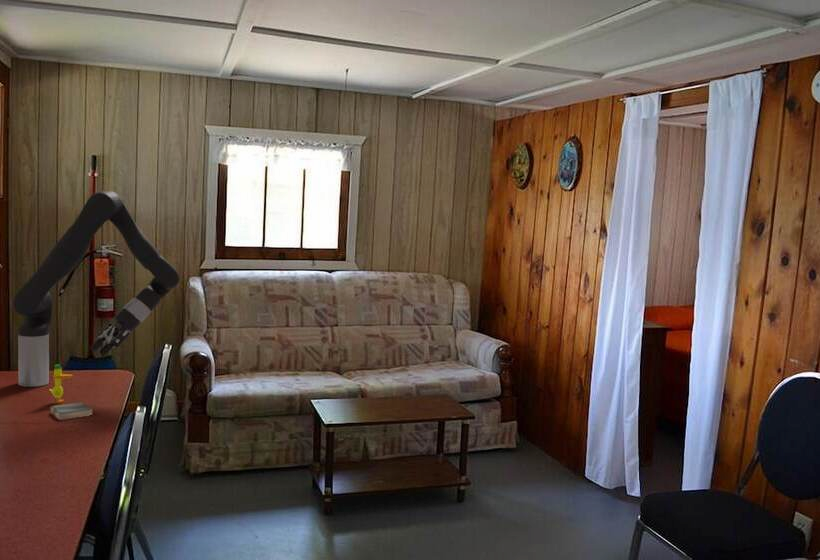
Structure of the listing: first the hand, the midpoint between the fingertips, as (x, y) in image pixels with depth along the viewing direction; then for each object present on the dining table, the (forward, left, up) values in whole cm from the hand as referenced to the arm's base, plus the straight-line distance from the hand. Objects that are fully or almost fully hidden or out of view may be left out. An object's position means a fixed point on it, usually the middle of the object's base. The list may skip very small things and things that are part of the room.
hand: (96, 352), depth 227 cm
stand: (+15, -12, -15) cm, 24 cm away
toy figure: (0, -11, -15) cm, 19 cm away
